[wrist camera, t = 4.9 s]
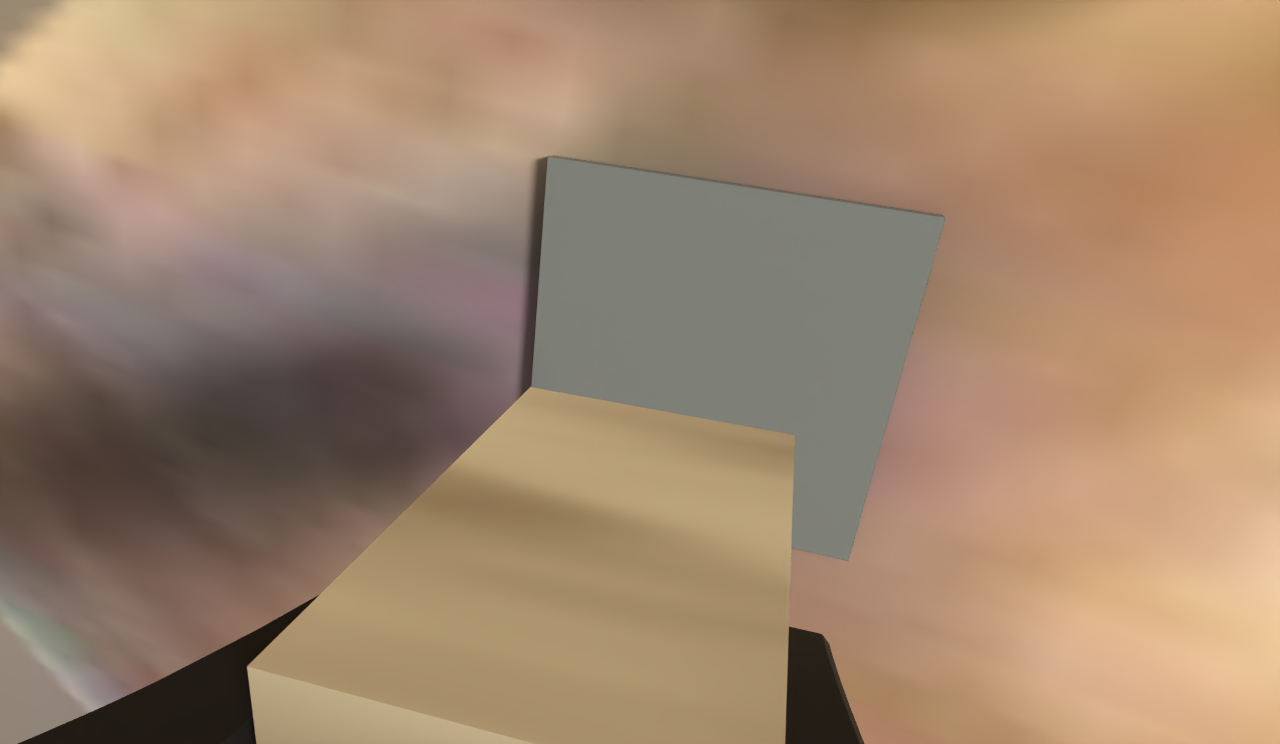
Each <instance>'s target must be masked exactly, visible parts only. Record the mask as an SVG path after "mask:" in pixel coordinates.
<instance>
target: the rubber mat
mask: <svg viewBox="0 0 1280 744" xmlns="http://www.w3.org/2000/svg"><path fill="white" fill-rule="evenodd" d="M944 221H945V217H944V216H943V215H938V214H932V213H925V212H919V211H912V210H906V209H899V208H893V207H886V206H879V205H873V204H866V203H860V202H853V201H847V200H840V199H834V198H827V197H821V196H814V195H808V194H801V193H794V192H788V191H781V190H775V189H768V188H762V187H755V186H749V185H742V184H736V183H729V182H723V181H716V180H709V179H703V178H696V177H690V176H683V175H677V174H670V173H664V172H657V171H651V170H644V169H638V168H631V167H624V166H618V165H611V164H605V163H598V162H592V161H585V160H579V159H572V158H566V157H559V156H549V157H548V160H547V174H546V188H545V202H544V216H543V230H542V244H541V258H540V272H539V286H538V300H537V314H536V328H535V342H534V356H533V370H532V384H531V387H533V388H539V389H544V390H549V391H555V392H560V393H566V394H571V395H577V396H582V397H588V398H593V399H599V400H604V401H610V402H615V403H621V404H626V405H632V406H637V407H643V408H648V409H654V410H659V411H665V412H670V413H676V414H681V415H687V416H692V417H698V418H703V419H709V420H714V421H720V422H725V423H731V424H736V425H742V426H747V427H753V428H758V429H764V430H769V431H775V432H780V433H786V434H791V435H795V446H794V478H793V510H792V542H791V548H793V549H797V550H802V551H806V552H810V553H815V554H819V555H823V556H828V557H832V558H836V559H841V560H845V561H848V560H849V557H850V553H851V550H852V546H853V543H854V539H855V536H856V532H857V528H858V525H859V521H860V518H861V514H862V511H863V507H864V504H865V500H866V497H867V493H868V490H869V486H870V483H871V479H872V476H873V472H874V468H875V465H876V461H877V458H878V454H879V451H880V447H881V444H882V440H883V437H884V433H885V430H886V426H887V423H888V419H889V415H890V412H891V408H892V405H893V401H894V398H895V394H896V391H897V387H898V384H899V380H900V377H901V373H902V370H903V366H904V363H905V359H906V355H907V352H908V348H909V345H910V341H911V338H912V334H913V331H914V327H915V324H916V320H917V317H918V313H919V310H920V306H921V303H922V299H923V295H924V292H925V288H926V285H927V281H928V278H929V274H930V271H931V267H932V264H933V260H934V257H935V253H936V250H937V246H938V243H939V239H940V235H941V232H942V228H943V225H944Z"/></svg>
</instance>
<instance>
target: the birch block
mask: <svg viewBox="0 0 1280 744" xmlns="http://www.w3.org/2000/svg"><path fill="white" fill-rule="evenodd" d="M794 446H795V435H791V434H786V433H780V432H775V431H769V430H764V429H758V428H753V427H747V426H742V425H736V424H731V423H725V422H720V421H714V420H709V419H703V418H698V417H692V416H687V415H681V414H676V413H670V412H665V411H659V410H654V409H648V408H643V407H637V406H632V405H626V404H621V403H615V402H610V401H604V400H599V399H593V398H588V397H582V396H577V395H571V394H566V393H560V392H555V391H549V390H544V389H539V388H533V387H530V388H529V389H528V390H527V391H526V392H525V393H524V394H523V395H522V396H521V397H520V398H519V399H518V400H517V401H516V402H515V403H514V404H513V405H512V406H511V407H510V408H509V409H508V410H507V411H506V412H505V413H504V414H503V415H502V416H501V417H500V418H499V419H498V420H497V421H496V422H495V423H494V424H493V425H492V426H490V427H489V428H488V429H487V430H486V431H485V432H484V433H483V434H482V435H481V436H480V437H479V438H478V439H477V440H476V441H475V442H474V443H473V444H472V445H471V446H470V447H469V448H468V449H467V450H466V451H465V452H464V453H463V454H462V455H461V456H460V457H459V458H458V459H457V460H456V461H455V462H454V463H453V464H452V465H451V466H450V467H449V468H448V469H447V470H446V471H445V472H444V473H443V474H442V475H441V476H440V477H439V478H438V479H437V480H436V481H435V482H434V483H433V484H432V485H431V486H430V487H429V488H428V489H427V490H426V491H425V492H424V493H423V494H421V495H420V496H419V497H418V498H417V499H416V500H415V501H414V502H413V503H412V504H411V505H410V506H409V507H408V508H407V509H406V510H405V511H404V512H403V513H402V514H401V515H400V516H399V517H398V518H397V519H396V520H395V521H394V522H393V523H392V524H391V525H390V526H389V527H388V528H387V529H386V530H385V531H384V532H383V533H382V534H381V535H380V536H379V537H378V538H377V539H376V540H375V541H374V542H373V543H372V544H371V545H370V546H369V547H368V548H367V549H366V550H365V551H364V552H363V553H362V554H361V555H360V556H359V557H358V558H357V559H356V560H355V561H354V562H352V563H351V564H350V565H349V566H348V567H347V568H346V569H345V570H344V571H343V572H342V573H341V574H340V575H339V576H338V577H337V578H336V579H335V580H334V581H333V582H332V583H331V584H330V585H329V586H328V587H327V588H326V589H325V590H324V591H323V592H322V593H321V594H320V595H319V596H318V597H317V598H316V599H315V600H314V601H313V602H312V603H311V604H310V605H309V606H308V607H307V608H306V609H305V610H304V611H303V612H302V613H301V614H300V615H299V616H298V617H297V618H296V619H295V620H294V621H293V622H292V623H291V624H290V625H289V626H288V627H287V628H286V629H285V630H284V631H282V632H281V633H280V634H279V635H278V636H277V637H276V638H275V639H274V640H273V641H272V642H271V643H270V644H269V645H268V646H267V647H266V648H265V649H264V650H263V651H262V652H261V653H260V654H259V655H258V656H257V657H256V658H255V659H254V660H253V661H252V662H251V663H250V664H249V665H248V666H247V670H248V679H249V687H250V695H251V703H252V711H253V719H254V728H255V736H256V744H785V733H786V701H787V669H788V637H789V605H790V574H791V542H792V510H793V478H794Z"/></svg>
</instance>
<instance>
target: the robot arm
mask: <svg viewBox="0 0 1280 744" xmlns="http://www.w3.org/2000/svg"><path fill="white" fill-rule="evenodd" d="M318 596H319V595H318ZM318 596H316V597H315V598H313V599H311V600H309V601H308V602H306V603H304V604H302V605H300V606H299V607H297V608H295V609H293V610H292V611H290V612H288V613H286V614H284V615H283V616H281V617H279V618H277V619H276V620H274V621H272V622H270V623H268V624H267V625H265V626H263V627H261V628H259V629H258V630H256V631H254V632H252V633H250V634H248V635H246V636H244V637H242V638H240V639H238V640H237V641H235V642H233V643H231V644H229V645H227V646H225V647H223V648H221V649H219V650H217V651H215V652H213V653H211V654H209V655H207V656H205V657H204V658H202V659H200V660H198V661H196V662H194V663H192V664H190V665H188V666H186V667H184V668H182V669H180V670H178V671H176V672H174V673H172V674H171V675H169V676H167V677H165V678H163V679H161V680H159V681H157V682H155V683H153V684H151V685H148V686H146V687H144V688H142V689H140V690H138V691H136V692H134V693H132V694H130V695H127V696H125V697H123V698H121V699H119V700H117V701H114V702H112V703H110V704H108V705H106V706H104V707H101V708H99V709H97V710H95V711H92V712H90V713H88V714H86V715H83V716H81V717H79V718H77V719H74V720H72V721H70V722H67V723H65V724H63V725H60V726H58V727H56V728H54V729H51V730H49V731H47V732H44V733H42V734H40V735H37V736H35V737H33V738H30V739H28V740H26V741H23V742H21V743H18V744H256V736H255V728H254V719H253V711H252V703H251V695H250V687H249V679H248V670H247V666H248V665H249V664H250V663H251V662H252V661H253V660H254V659H255V658H256V657H257V656H258V655H259V654H260V653H261V652H262V651H263V650H264V649H265V648H266V647H267V646H268V645H269V644H270V643H271V642H272V641H273V640H274V639H275V638H276V637H277V636H278V635H279V634H280V633H281V632H282V631H284V630H285V629H286V628H287V627H288V626H289V625H290V624H291V623H292V622H293V621H294V620H295V619H296V618H297V617H298V616H299V615H300V614H301V613H302V612H303V611H304V610H305V609H306V608H307V607H308V606H309V605H310V604H311V603H312V602H313V601H314V600H315V599H316V598H317V597H318ZM785 744H864V741H863V739H862V737H861V734H860V732H859V729H858V726H857V724H856V721H855V719H854V716H853V713H852V711H851V708H850V706H849V703H848V700H847V697H846V695H845V692H844V689H843V686H842V684H841V681H840V678H839V675H838V672H837V669H836V665H835V662H834V659H833V656H832V652H831V649H830V645H829V643H828V642H827V640H826V639H825V638H824V636H823V635H822V634H819V633H815V632H810V631H806V630H802V629H797V628H793V627H789V637H788V669H787V701H786V733H785Z"/></svg>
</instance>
